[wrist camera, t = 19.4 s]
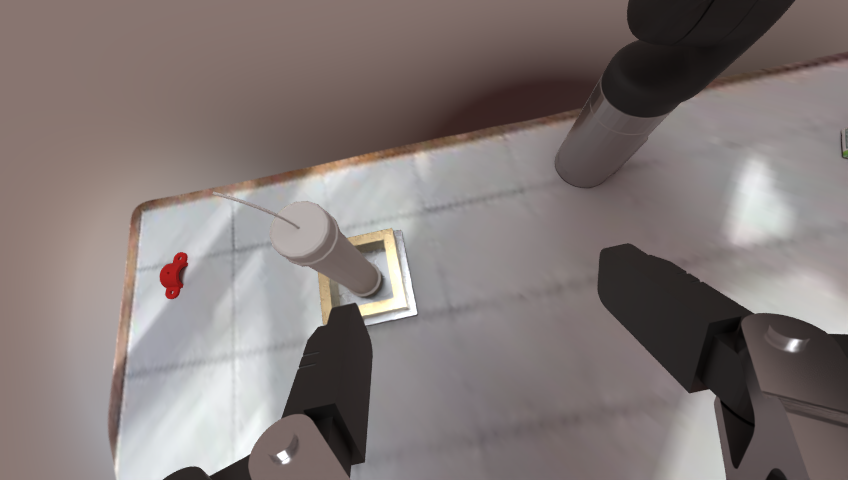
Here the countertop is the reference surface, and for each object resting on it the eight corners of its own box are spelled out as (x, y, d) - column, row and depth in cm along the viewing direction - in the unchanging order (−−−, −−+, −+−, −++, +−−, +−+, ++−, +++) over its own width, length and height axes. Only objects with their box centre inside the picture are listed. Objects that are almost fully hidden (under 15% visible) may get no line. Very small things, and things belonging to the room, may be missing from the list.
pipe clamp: (176, 253, 55) (166, 250, 53) (191, 253, 54) (181, 249, 52) (165, 299, 52) (153, 297, 50) (181, 299, 52) (170, 297, 50)
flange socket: (401, 231, 52) (397, 220, 48) (417, 314, 48) (414, 311, 43) (320, 249, 53) (308, 240, 48) (329, 334, 48) (316, 333, 43)
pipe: (380, 301, 48) (287, 241, 20) (341, 295, 49) (197, 230, 20) (387, 266, 50) (309, 165, 21) (349, 261, 50) (225, 157, 22)
